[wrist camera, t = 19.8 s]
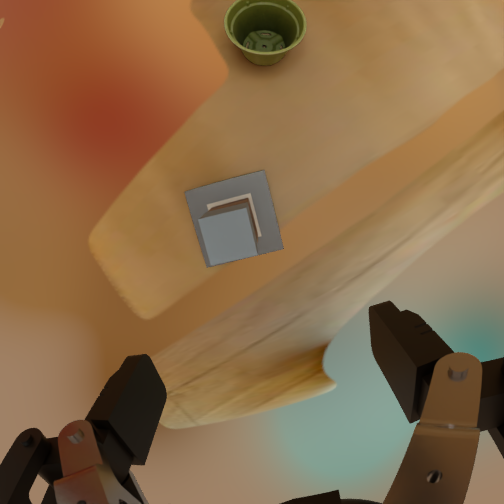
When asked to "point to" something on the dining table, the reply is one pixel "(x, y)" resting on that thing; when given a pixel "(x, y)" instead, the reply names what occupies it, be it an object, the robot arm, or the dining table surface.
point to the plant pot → (265, 28)
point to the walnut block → (237, 204)
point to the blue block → (228, 234)
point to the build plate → (235, 190)
